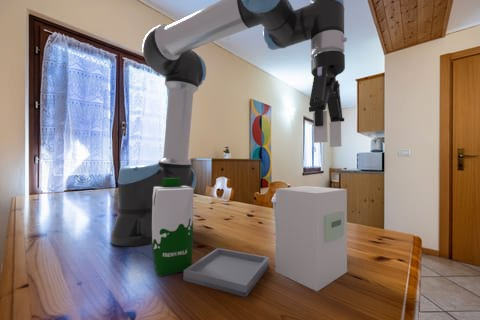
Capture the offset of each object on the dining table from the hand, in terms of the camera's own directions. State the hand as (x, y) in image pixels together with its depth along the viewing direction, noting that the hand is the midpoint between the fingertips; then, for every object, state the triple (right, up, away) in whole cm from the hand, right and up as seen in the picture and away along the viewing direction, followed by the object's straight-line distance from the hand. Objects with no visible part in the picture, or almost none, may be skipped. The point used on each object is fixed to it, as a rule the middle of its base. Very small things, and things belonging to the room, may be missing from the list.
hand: (328, 144), depth 54 cm
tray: (-24, -28, -5) cm, 37 cm away
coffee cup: (-8, -29, +11) cm, 31 cm away
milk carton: (-37, -28, -3) cm, 46 cm away
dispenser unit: (-6, -28, -5) cm, 29 cm away
